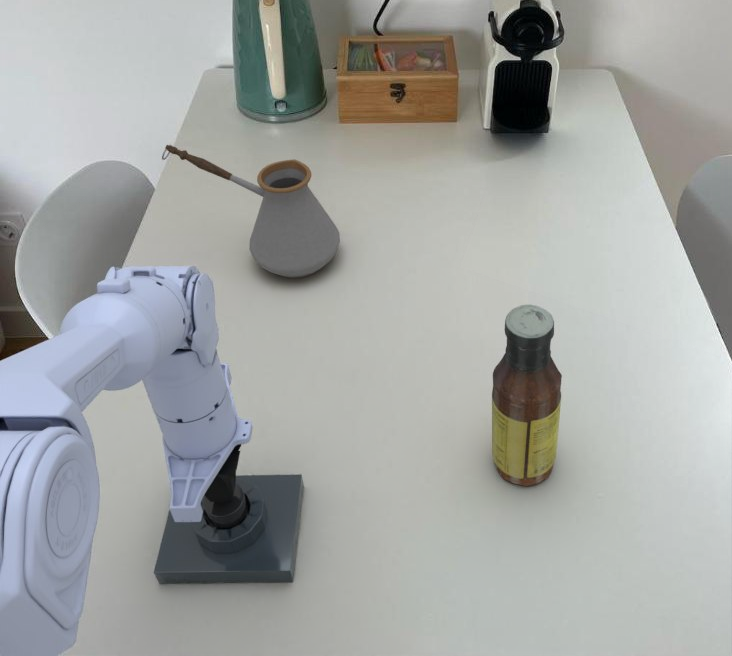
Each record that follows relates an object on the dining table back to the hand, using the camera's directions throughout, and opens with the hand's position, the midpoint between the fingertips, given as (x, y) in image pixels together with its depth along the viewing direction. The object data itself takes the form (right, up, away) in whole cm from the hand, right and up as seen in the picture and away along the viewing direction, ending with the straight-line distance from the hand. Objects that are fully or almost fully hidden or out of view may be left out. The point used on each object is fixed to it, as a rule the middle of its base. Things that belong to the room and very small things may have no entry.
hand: (222, 495), depth 71 cm
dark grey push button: (0, -2, +2) cm, 3 cm away
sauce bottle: (+28, +1, +9) cm, 29 cm away
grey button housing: (0, -5, +4) cm, 6 cm away
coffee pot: (-3, +23, +35) cm, 42 cm away
